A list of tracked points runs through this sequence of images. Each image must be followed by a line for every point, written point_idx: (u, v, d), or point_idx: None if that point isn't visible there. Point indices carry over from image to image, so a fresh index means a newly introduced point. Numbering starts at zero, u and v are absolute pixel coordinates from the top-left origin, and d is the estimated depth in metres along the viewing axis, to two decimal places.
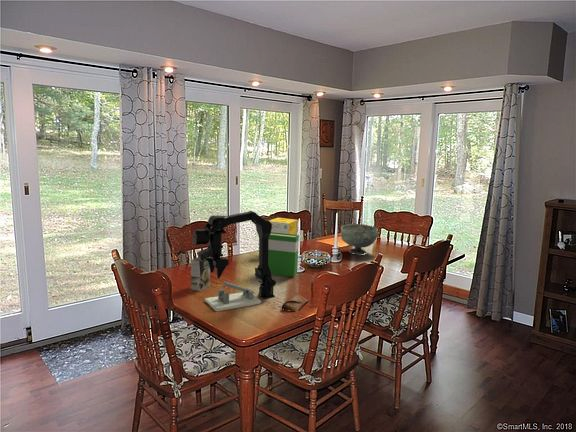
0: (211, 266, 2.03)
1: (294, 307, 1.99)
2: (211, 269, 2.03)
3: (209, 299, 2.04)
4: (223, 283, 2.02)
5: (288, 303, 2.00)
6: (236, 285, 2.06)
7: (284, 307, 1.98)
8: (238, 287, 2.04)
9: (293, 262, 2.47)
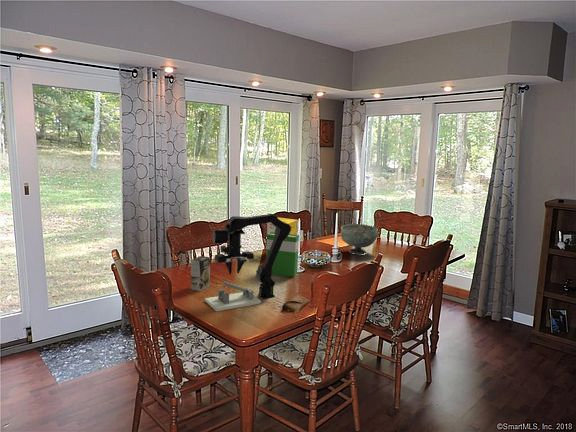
0: (237, 267, 2.09)
1: (295, 307, 1.99)
2: (237, 270, 2.09)
3: (209, 299, 2.04)
4: (223, 283, 2.02)
5: (289, 303, 2.00)
6: (236, 285, 2.06)
7: (285, 308, 1.98)
8: (238, 287, 2.04)
9: (293, 262, 2.47)
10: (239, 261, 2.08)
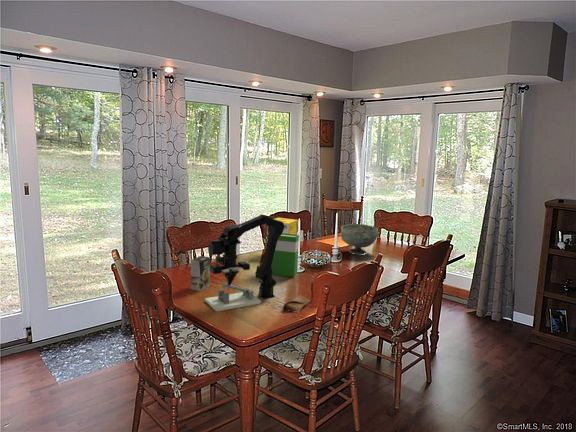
0: None
1: (296, 307, 1.98)
2: None
3: (209, 299, 2.04)
4: None
5: (290, 303, 1.99)
6: (236, 286, 2.06)
7: (286, 308, 1.98)
8: (238, 288, 2.04)
9: (293, 262, 2.47)
10: (231, 272, 2.02)
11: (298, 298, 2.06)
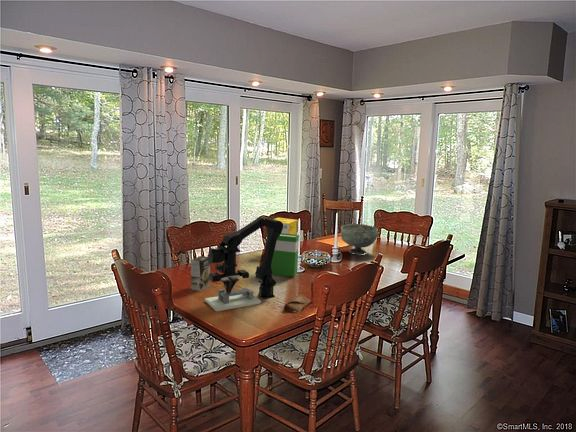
0: (229, 286, 2.04)
1: (296, 308, 1.98)
2: None
3: (209, 299, 2.04)
4: (221, 295, 2.02)
5: (290, 304, 1.99)
6: (234, 290, 2.06)
7: (287, 308, 1.98)
8: (236, 293, 2.04)
9: (293, 262, 2.47)
10: (231, 280, 2.03)
11: (299, 298, 2.05)
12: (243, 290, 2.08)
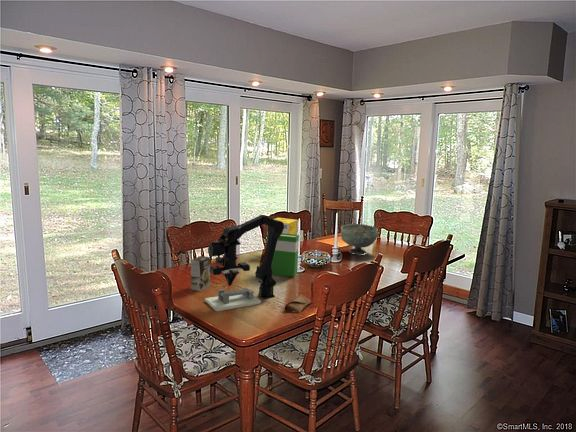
0: (230, 279, 2.03)
1: (297, 308, 1.98)
2: None
3: (209, 299, 2.04)
4: (221, 295, 2.02)
5: (291, 304, 1.99)
6: (234, 290, 2.06)
7: (287, 308, 1.98)
8: (236, 293, 2.04)
9: (293, 262, 2.47)
10: (231, 273, 2.02)
11: (300, 298, 2.05)
12: (243, 290, 2.08)
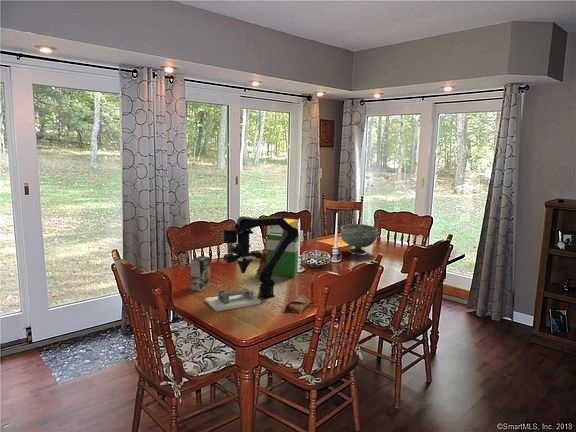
0: None
1: (298, 308, 1.98)
2: None
3: (209, 299, 2.04)
4: (221, 295, 2.02)
5: (292, 304, 1.99)
6: (234, 290, 2.06)
7: (288, 308, 1.98)
8: (236, 293, 2.04)
9: (293, 262, 2.47)
10: (245, 261, 2.09)
11: (300, 299, 2.05)
12: (243, 290, 2.08)
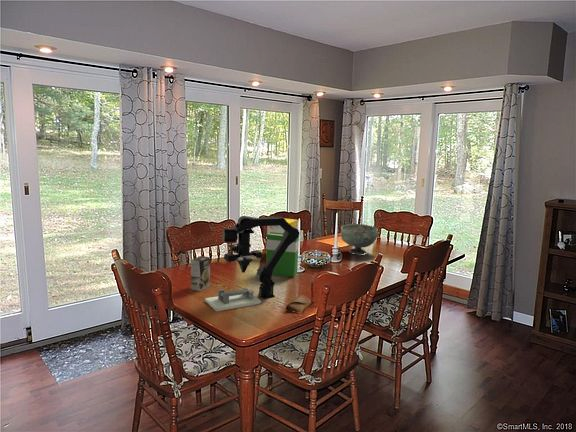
0: None
1: (298, 308, 1.98)
2: None
3: (209, 299, 2.04)
4: (221, 295, 2.02)
5: (292, 304, 1.99)
6: (234, 290, 2.06)
7: (289, 309, 1.97)
8: (236, 293, 2.04)
9: (293, 262, 2.47)
10: (245, 260, 2.09)
11: (301, 299, 2.05)
12: (243, 290, 2.08)
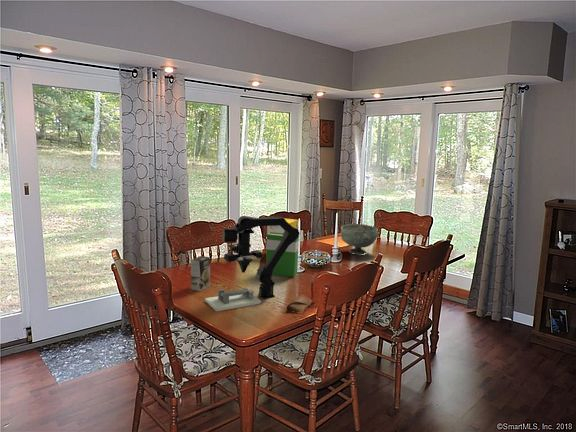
0: None
1: (299, 308, 1.97)
2: None
3: (209, 299, 2.04)
4: (221, 295, 2.02)
5: (293, 304, 1.99)
6: (234, 290, 2.06)
7: (289, 309, 1.97)
8: (236, 293, 2.04)
9: (293, 262, 2.47)
10: (245, 260, 2.09)
11: (301, 299, 2.05)
12: (243, 290, 2.08)
